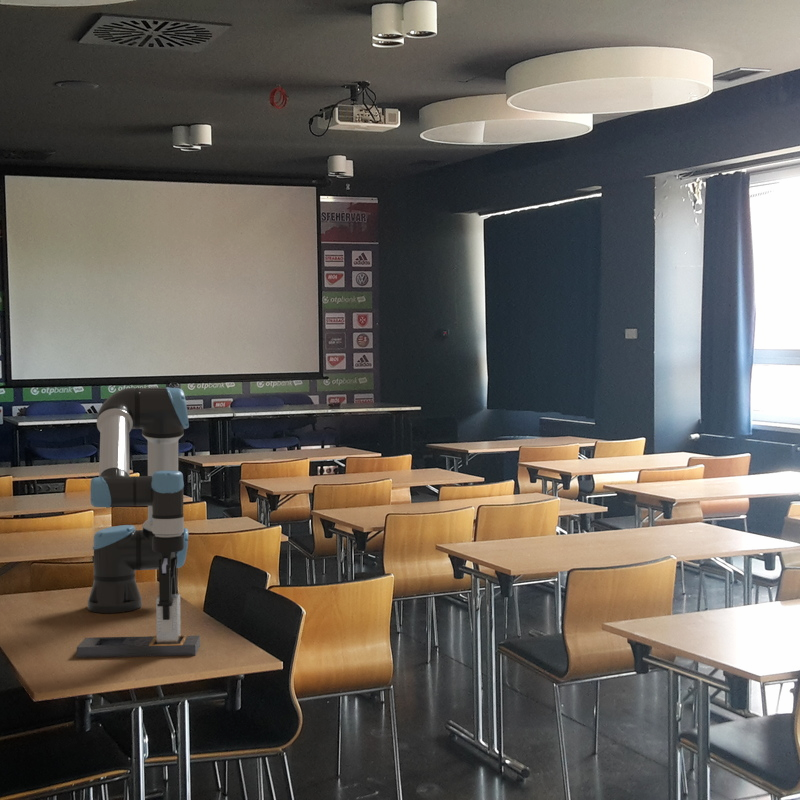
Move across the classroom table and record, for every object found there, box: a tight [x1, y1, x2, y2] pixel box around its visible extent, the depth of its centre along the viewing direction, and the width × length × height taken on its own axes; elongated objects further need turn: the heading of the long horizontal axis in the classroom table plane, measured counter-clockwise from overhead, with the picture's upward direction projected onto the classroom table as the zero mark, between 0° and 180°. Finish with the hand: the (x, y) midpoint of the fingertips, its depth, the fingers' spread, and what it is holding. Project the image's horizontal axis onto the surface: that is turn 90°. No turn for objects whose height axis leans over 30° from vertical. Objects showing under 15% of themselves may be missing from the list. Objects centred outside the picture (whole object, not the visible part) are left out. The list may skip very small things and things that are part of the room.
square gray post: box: [155, 593, 182, 644], centre depth 252 cm, size 5×5×12 cm
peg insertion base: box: [76, 634, 201, 659], centre depth 252 cm, size 9×28×3 cm, turn 94°
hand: (168, 629), depth 252 cm, fingers closed on square gray post, 5 cm apart
